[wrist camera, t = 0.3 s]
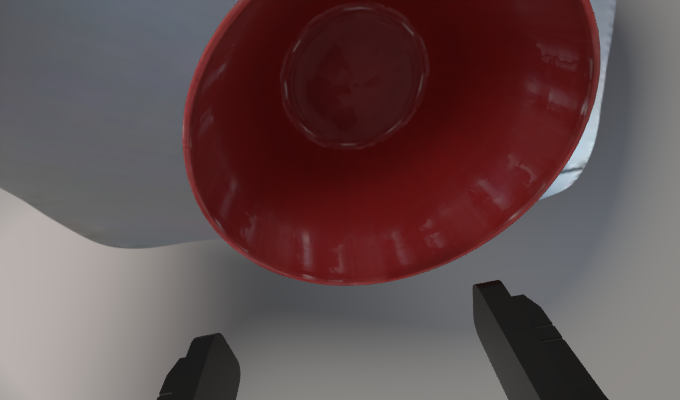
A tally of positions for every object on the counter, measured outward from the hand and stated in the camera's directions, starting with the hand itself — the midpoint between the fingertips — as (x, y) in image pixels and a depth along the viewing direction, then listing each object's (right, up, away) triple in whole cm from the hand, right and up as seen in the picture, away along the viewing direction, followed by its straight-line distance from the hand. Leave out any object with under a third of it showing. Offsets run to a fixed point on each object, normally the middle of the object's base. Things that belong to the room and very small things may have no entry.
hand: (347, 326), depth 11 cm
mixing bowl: (+1, +17, +25) cm, 30 cm away
